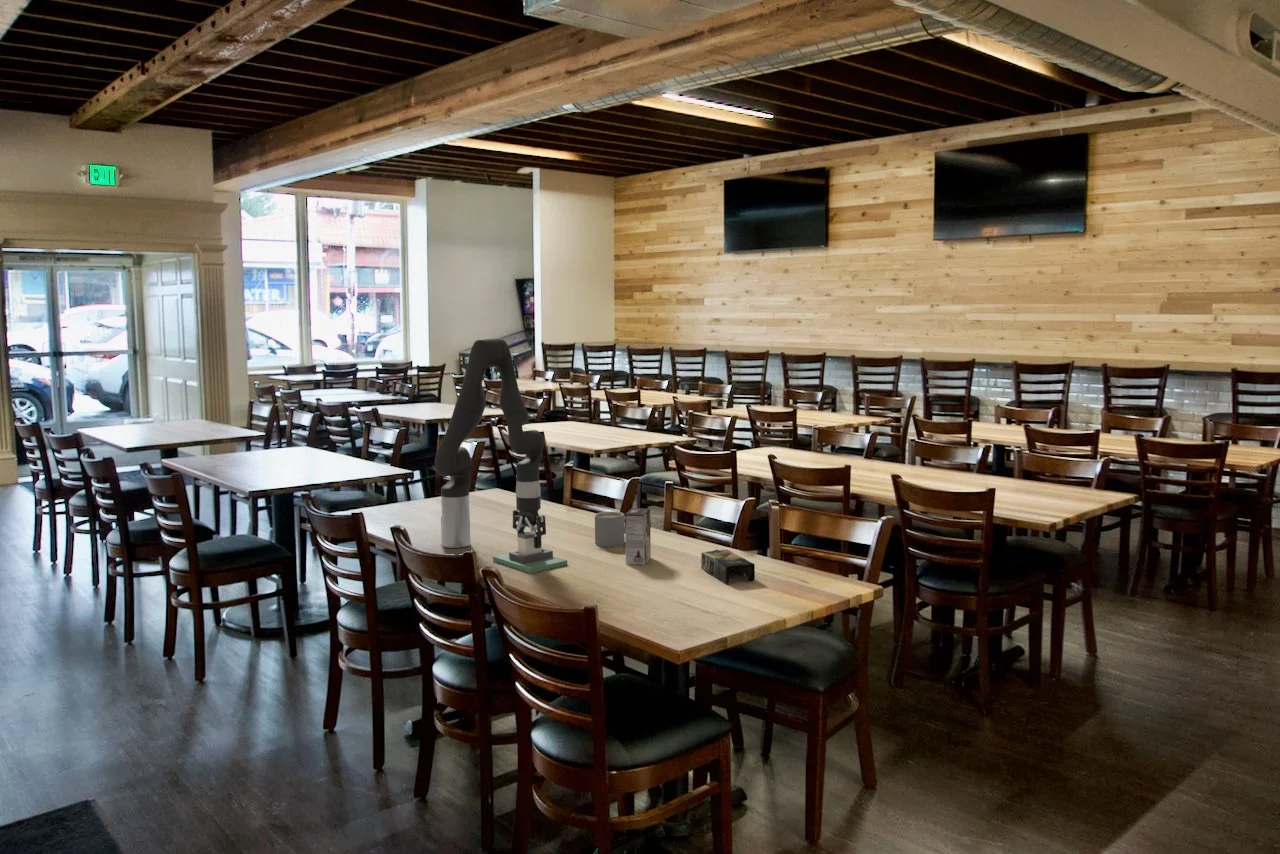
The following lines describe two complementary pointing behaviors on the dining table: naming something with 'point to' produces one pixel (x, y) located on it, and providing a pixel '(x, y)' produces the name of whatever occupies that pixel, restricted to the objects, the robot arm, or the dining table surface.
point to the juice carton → (726, 565)
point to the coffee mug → (609, 529)
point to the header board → (531, 561)
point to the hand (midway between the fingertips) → (529, 545)
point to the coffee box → (637, 536)
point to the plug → (527, 544)
